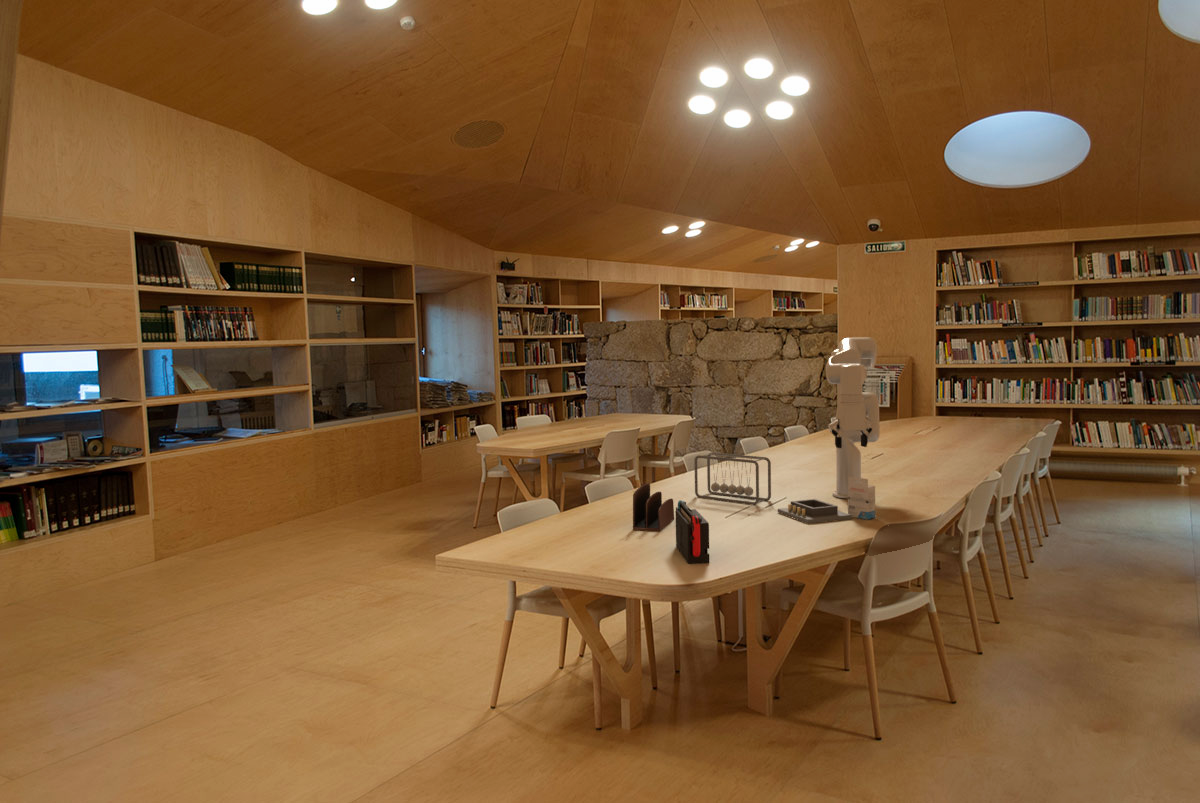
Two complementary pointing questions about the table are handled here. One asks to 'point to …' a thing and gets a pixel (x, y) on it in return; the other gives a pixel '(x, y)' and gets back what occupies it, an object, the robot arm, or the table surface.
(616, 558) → the table surface
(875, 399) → the robot arm
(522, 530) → the table surface
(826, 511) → the dock board
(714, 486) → the newton's cradle
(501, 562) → the table surface
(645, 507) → the letter holder
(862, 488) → the ink box
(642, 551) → the table surface
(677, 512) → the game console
